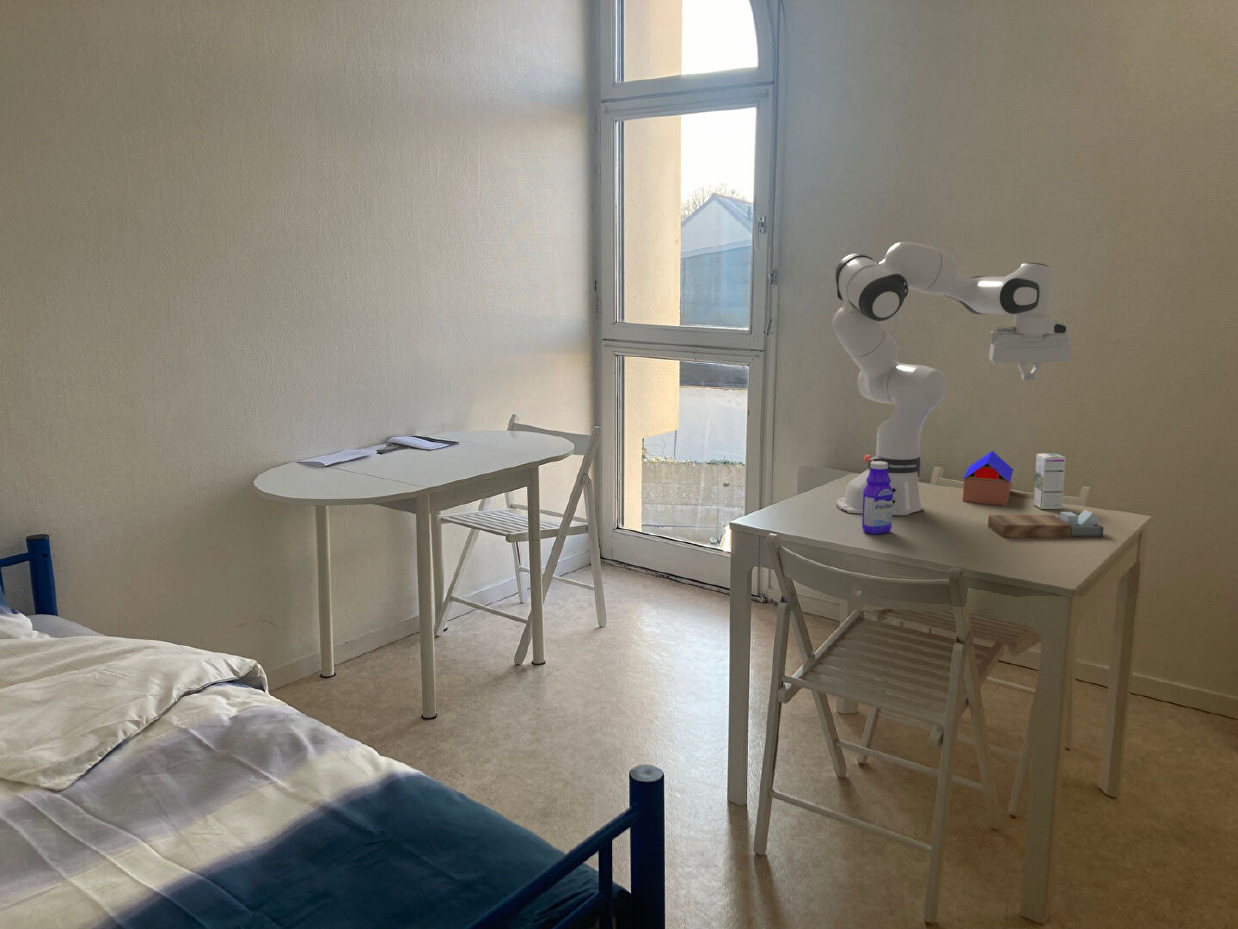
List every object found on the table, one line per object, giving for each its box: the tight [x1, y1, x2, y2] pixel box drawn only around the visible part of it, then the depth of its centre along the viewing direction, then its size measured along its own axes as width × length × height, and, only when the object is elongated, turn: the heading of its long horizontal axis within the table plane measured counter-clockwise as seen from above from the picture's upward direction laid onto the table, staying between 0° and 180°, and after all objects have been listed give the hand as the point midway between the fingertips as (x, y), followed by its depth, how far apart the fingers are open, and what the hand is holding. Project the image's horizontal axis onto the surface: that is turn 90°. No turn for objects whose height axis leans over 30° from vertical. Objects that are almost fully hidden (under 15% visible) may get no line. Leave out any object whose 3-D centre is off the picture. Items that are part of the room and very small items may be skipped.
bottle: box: [861, 461, 893, 535], centre depth 232 cm, size 7×6×17 cm
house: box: [962, 450, 1014, 506], centre depth 269 cm, size 12×20×12 cm, turn 155°
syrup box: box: [1032, 452, 1067, 510], centre depth 255 cm, size 6×6×14 cm
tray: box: [1057, 516, 1105, 538], centre depth 232 cm, size 8×10×2 cm
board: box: [987, 514, 1071, 538], centre depth 232 cm, size 16×10×3 cm, turn 89°
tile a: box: [1078, 509, 1100, 526], centre depth 231 cm, size 4×4×2 cm
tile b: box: [1059, 511, 1079, 526], centre depth 232 cm, size 4×4×2 cm
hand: (1028, 379), depth 249 cm, fingers closed
